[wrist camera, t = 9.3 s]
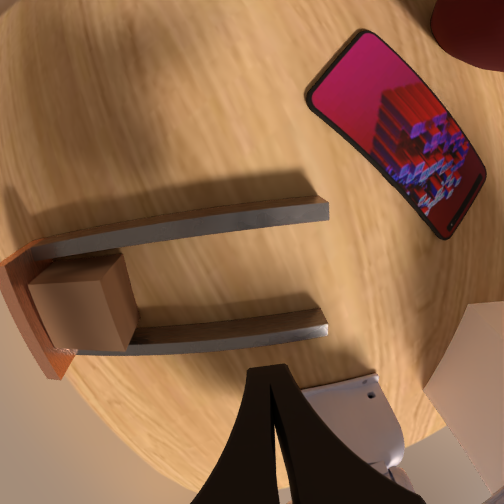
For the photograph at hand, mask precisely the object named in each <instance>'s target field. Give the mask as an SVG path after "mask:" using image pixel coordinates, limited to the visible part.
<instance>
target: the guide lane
mask: <svg viewBox="0 0 504 504" xmlns="http://www.w3.org/2000/svg"><path fill="white" fill-rule="evenodd" d="M326 220H329V202H328V201H326V200H324V199H323V198H321V197H320V196H308V197H297V198H287V199H278V200H269V201H260V202H252V203H244V204H236V205H228V206H220V207H213V208H206V209H199V210H192V211H185V212H179V213H172V214H166V215H160V216H154V217H148V218H142V219H136V220H131V221H125V222H120V223H114V224H109V225H104V226H99V227H94V228H89V229H84V230H79V231H74V232H69V233H65V234H60V235H56V236H51V237H47V238H42V239H38V240H34V241H31V242H30V243H28V244H27V245H25V246H24V247H22V248H21V249H19V250H18V251H16V252H15V253H13V254H12V255H10V256H9V257H7V258H6V259H4V260H3V261H2V262H0V290H1V292H2V295H3V297H4V299H5V302H6V304H7V306H8V308H9V311H10V313H11V315H12V317H13V319H14V321H15V323H16V325H17V327H18V329H19V331H20V333H21V335H22V337H23V339H24V341H25V342H26V344H27V346H28V348H29V350H30V351H31V353H32V355H33V356H34V358H35V359H36V361H37V363H38V365H39V366H40V368H41V370H42V371H43V373H44V374H45V376H46V377H47V378H48V379H54V380H61V379H62V377H63V376H64V374H65V372H66V370H67V369H68V367H69V365H70V363H71V362H72V360H73V358H74V357H75V355H98V356H140V355H169V354H187V353H201V352H213V351H224V350H234V349H243V348H251V347H259V346H267V345H274V344H281V343H288V342H294V341H300V340H306V339H312V338H318V337H323V336H328V322H327V320H326V318H325V316H324V314H323V312H322V310H321V308H317V309H311V310H305V311H298V312H292V313H285V314H278V315H271V316H263V317H256V318H248V319H239V320H231V321H221V322H212V323H201V324H190V325H179V326H165V327H150V328H136V329H135V331H134V333H133V336H132V338H131V340H130V342H129V345H128V347H127V349H126V352H122V351H95V350H78V349H65V348H55V347H54V345H53V343H52V341H51V339H50V337H49V334H48V332H47V330H46V328H45V326H44V324H43V322H42V319H41V317H40V315H39V312H38V310H37V308H36V305H35V303H34V300H33V298H32V295H31V293H30V290H29V287H28V284H29V283H30V282H31V281H32V280H34V279H35V278H36V277H37V276H38V275H39V274H41V273H42V272H43V271H44V270H45V269H46V268H48V267H49V266H50V265H51V264H52V263H53V261H52V258H57V257H63V256H69V255H75V254H81V253H87V252H94V251H100V250H106V249H112V248H119V247H125V246H132V245H139V244H145V243H152V242H159V241H166V240H173V239H180V238H187V237H195V236H202V235H210V234H217V233H225V232H233V231H240V230H248V229H256V228H265V227H273V226H281V225H290V224H299V223H307V222H316V221H326Z"/></svg>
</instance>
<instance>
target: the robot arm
mask: <svg viewBox="0 0 504 504" xmlns="http://www.w3.org/2000/svg"><path fill="white" fill-rule="evenodd" d="M378 379H379V376H378V374H377V373H374V374H370V375H366V376H363V377H359V378H355V379H351V380H347V381H342V382H338V383H334V384H329V385H324V386H319V387H314V388H309V389H304V390H300V388H299V387H298V385H297V384H296V382H295V380H294V378H293V376H292V374H291V372H290V370H289V368H288V365H286V364H277V365H270V366H263V367H255V368H249V369H248V370H247V377H246V384H245V390H244V394H243V398H242V402H241V405H240V409H239V412H238V415H237V418H236V421H235V424H234V426H233V429H232V431H231V434H230V437H229V439H228V441H227V444H226V446H225V448H224V450H223V452H222V454H221V456H220V458H219V460H218V462H217V464H216V466H215V467H214V469H213V471H212V472H211V474H210V476H209V478H208V479H207V481H206V482H205V484H204V485H203V487H202V488H201V490H200V491H199V493H198V494H197V495H196V497H195V498H194V499H193V501H192V502H191V503H190V504H280V502H279V495H278V487H277V478H276V455H275V429H276V433H277V436H278V440H279V444H280V448H281V452H282V455H283V459H284V463H285V467H286V470H287V475H288V479H289V485H290V491H291V497H292V501H289V502H288V503H287V504H426V503H425V501H424V500H423V498H422V497H421V496H420V495H418V494H416V493H415V491H414V488H413V486H412V484H411V482H410V479H409V478H408V476H407V474H406V472H405V471H404V469H402V468H399V467H396V465H398V464H399V463H400V461H401V460H402V458H403V455H404V438H403V433H402V430H401V427H400V424H399V422H398V420H397V418H396V416H395V414H394V412H393V410H392V408H391V406H390V404H389V402H388V401H387V399H386V397H385V395H384V393H383V391H382V389H381V387H380V385H379V383H378ZM274 425H275V428H274ZM387 469H388V470H387ZM388 472H389V473H388ZM482 504H504V486H503V487H501V488H500V489H499V490H498V491H496V492H495V493H494V494H493V495H492V497H490V498H489V499H488V500H486V501H485V502H484V503H482Z"/></svg>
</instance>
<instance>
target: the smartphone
mask: <svg viewBox="0 0 504 504" xmlns="http://www.w3.org/2000/svg"><path fill="white" fill-rule="evenodd" d="M306 102H307V105H308V107H309V109H310V110H311V111H312V112H313V113H314V114H316V115H317V116H318V117H319V118H321V119H322V120H323V121H324V122H326V123H327V124H328V125H329V126H330V127H331V128H333V129H334V130H335V131H336V132H337V133H338V134H340V135H341V136H342V137H343V138H344V139H345V140H346V141H348V142H349V143H350V144H351V145H352V146H353V147H354V148H355V149H356V150H357V151H358V152H360V153H361V154H362V155H363V156H364V157H365V158H366V159H367V160H368V161H369V162H370V163H371V164H372V165H373V166H374V167H375V168H376V169H377V170H378V171H379V172H380V173H381V174H382V175H383V177H384V178H385V179H386V180H387V181H388V182H389V183H390V184H391V185H392V186H394V187H395V188H396V189H397V191H398V192H399V193H400V194H401V195H402V196H403V197H404V198H405V199H406V200H407V201H408V203H409V204H410V205H411V206H412V207H413V208H414V209H415V211H416V212H417V213H418V214H419V216H420V217H421V218H422V219H423V221H425V222H426V224H427V225H428V226H429V227H430V229H431V230H432V231H433V232H434V233H435V235H436V236H437V237H438V238H440V239H442V240H448V239H449V238H450V237H451V236H452V235H453V233H454V232H455V230H456V229H457V227H458V226H459V224H460V223H461V221H462V220H463V218H464V216H465V215H466V213H467V212H468V210H469V208H470V207H471V205H472V203H473V202H474V200H475V198H476V197H477V195H478V193H479V191H480V190H481V188H482V186H483V184H484V182H485V180H486V175H487V173H486V168H485V166H484V164H483V163H482V161H481V159H480V158H479V156H478V154H477V153H476V151H475V149H474V148H473V146H472V145H471V143H470V141H469V140H468V138H467V137H466V135H465V134H464V132H463V131H462V130H461V128H460V127H459V125H458V124H457V122H456V121H455V120H454V118H453V117H452V116H451V114H450V113H449V112H448V110H447V109H446V108H445V106H444V105H443V104H442V103H441V101H440V100H439V99H438V98H437V96H436V95H435V94H434V93H433V91H432V90H431V89H430V88H429V87H428V86H427V84H426V83H425V82H424V81H423V80H422V79H421V78H420V77H419V75H418V74H417V73H416V72H415V71H414V70H413V69H412V68H411V67H410V66H409V65H408V64H407V63H406V62H405V61H404V60H403V59H402V58H401V57H400V56H399V55H398V54H397V53H396V52H395V51H394V50H393V49H392V48H391V47H390V46H389V45H388V44H387V43H385V42H384V41H383V40H382V39H381V38H380V37H379V36H378V35H376V34H375V33H373V32H371V31H362V32H360V33H359V34H358V35H357V36H356V37H355V38H354V39H353V40H352V42H351V43H350V44H349V45H348V46H347V47H346V48H345V49H344V51H343V52H342V53H341V54H340V55H339V56H338V57H337V59H336V60H335V61H334V62H333V63H332V64H331V66H330V67H329V68H328V69H327V70H326V72H325V73H324V74H323V75H322V76H321V77H320V79H319V80H318V81H317V82H316V83H315V85H314V86H313V87H312V88H311V89H310V90H309V92H308V94H307V97H306Z"/></svg>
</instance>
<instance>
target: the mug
mask: <svg viewBox="0 0 504 504" xmlns="http://www.w3.org/2000/svg"><path fill="white" fill-rule="evenodd" d="M431 29H432V32H433V35H434V37H435V39H436V40H437V42H438V43H439V45H440V46H441V47H442V48H443V49H444V50H445V51H446V52H447V53H448V54H449V55H451V56H453V57H455V58H457V59H459V60H461V61H464V62H466V63H468V64H470V65H473V66H475V67H478V68H481V69H486V70H492V71H500V72H504V0H437V2H436V4H435V7H434V10H433V14H432V17H431Z"/></svg>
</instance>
